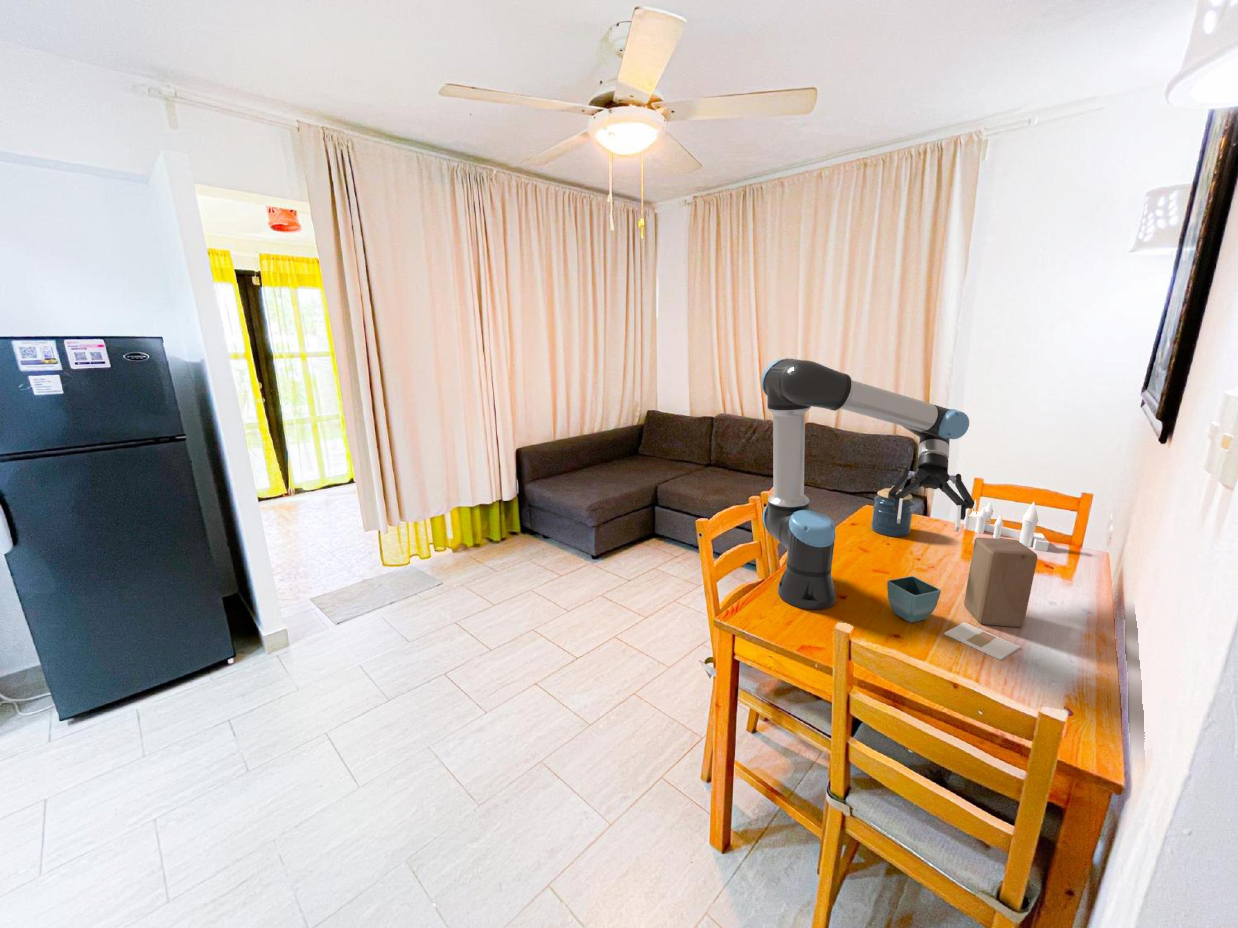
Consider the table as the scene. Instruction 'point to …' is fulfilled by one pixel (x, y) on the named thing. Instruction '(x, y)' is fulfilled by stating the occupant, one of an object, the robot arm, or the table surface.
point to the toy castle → (1025, 535)
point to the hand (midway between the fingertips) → (927, 525)
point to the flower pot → (912, 598)
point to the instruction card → (982, 640)
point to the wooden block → (1000, 581)
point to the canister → (891, 515)
